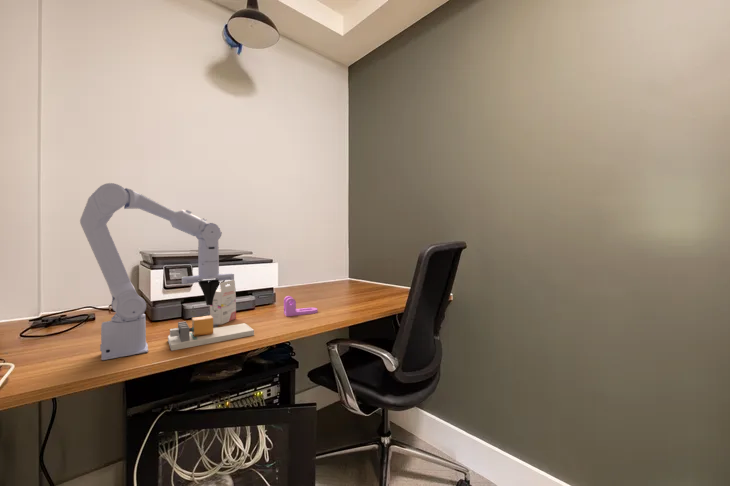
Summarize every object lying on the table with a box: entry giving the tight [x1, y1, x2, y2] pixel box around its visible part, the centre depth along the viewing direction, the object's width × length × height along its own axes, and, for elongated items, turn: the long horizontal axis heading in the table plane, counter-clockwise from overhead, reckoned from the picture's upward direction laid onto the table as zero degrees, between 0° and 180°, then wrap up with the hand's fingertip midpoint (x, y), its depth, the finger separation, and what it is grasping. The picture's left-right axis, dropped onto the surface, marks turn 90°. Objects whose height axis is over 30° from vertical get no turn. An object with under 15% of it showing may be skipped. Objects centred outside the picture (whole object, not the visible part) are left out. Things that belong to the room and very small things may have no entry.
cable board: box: [167, 320, 255, 352], centre depth 94 cm, size 22×10×5 cm, turn 127°
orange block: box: [191, 314, 213, 337], centre depth 92 cm, size 5×4×5 cm
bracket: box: [283, 295, 319, 317], centre depth 124 cm, size 13×6×7 cm, turn 114°
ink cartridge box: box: [209, 279, 237, 325], centre depth 112 cm, size 9×5×15 cm, turn 168°
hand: (209, 304), depth 97 cm, fingers closed
